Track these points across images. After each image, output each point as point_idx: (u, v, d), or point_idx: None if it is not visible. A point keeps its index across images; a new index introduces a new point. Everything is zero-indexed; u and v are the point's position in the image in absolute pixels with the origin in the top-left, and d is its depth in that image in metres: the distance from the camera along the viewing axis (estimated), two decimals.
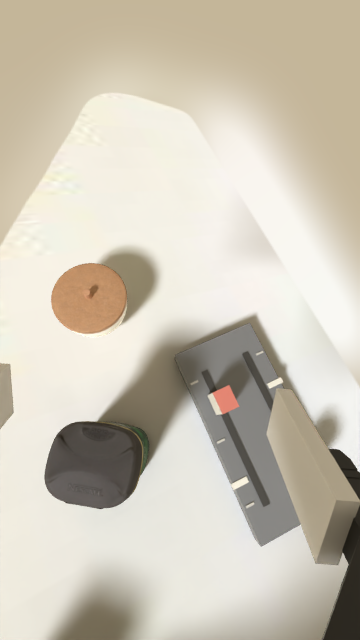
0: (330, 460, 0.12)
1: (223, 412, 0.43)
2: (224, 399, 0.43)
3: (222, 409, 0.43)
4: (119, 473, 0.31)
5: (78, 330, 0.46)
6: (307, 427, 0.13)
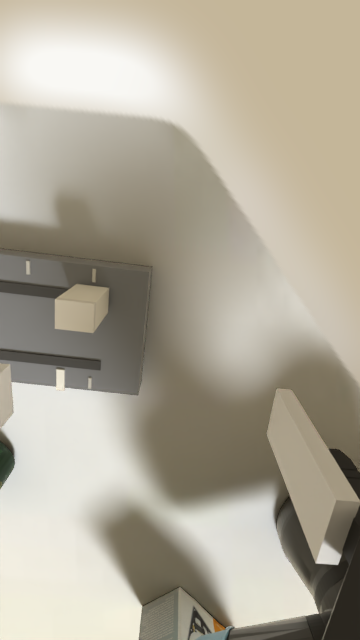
0: (330, 460, 0.12)
1: None
2: None
3: None
4: None
5: None
6: (307, 427, 0.13)
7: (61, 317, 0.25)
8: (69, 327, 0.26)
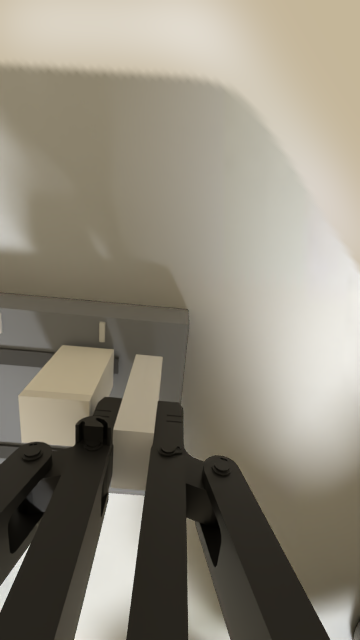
0: (152, 406, 0.14)
1: None
2: None
3: None
4: None
5: None
6: (152, 383, 0.15)
7: (32, 424, 0.14)
8: (47, 440, 0.15)
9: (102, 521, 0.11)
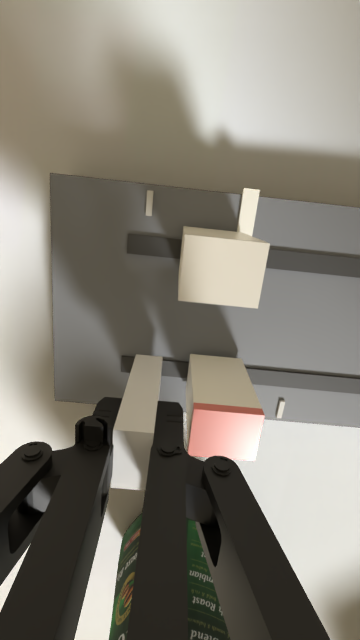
0: (152, 406, 0.14)
1: (251, 457, 0.15)
2: (222, 439, 0.14)
3: (243, 456, 0.15)
4: None
5: None
6: (152, 383, 0.15)
7: (194, 275, 0.12)
8: (209, 297, 0.12)
9: (102, 521, 0.11)
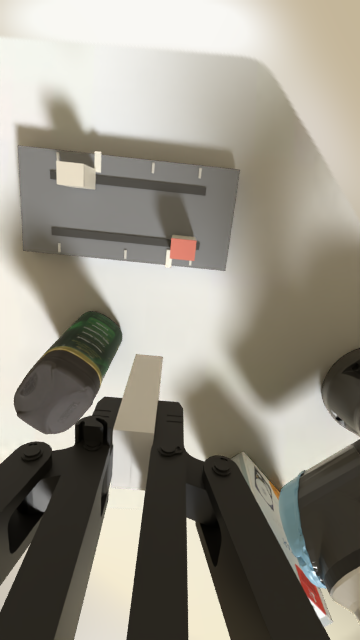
0: (152, 406, 0.14)
1: (193, 259, 0.40)
2: (182, 251, 0.39)
3: (189, 258, 0.40)
4: (66, 386, 0.35)
5: None
6: (152, 383, 0.15)
7: (61, 175, 0.37)
8: (67, 183, 0.37)
9: (102, 521, 0.11)
